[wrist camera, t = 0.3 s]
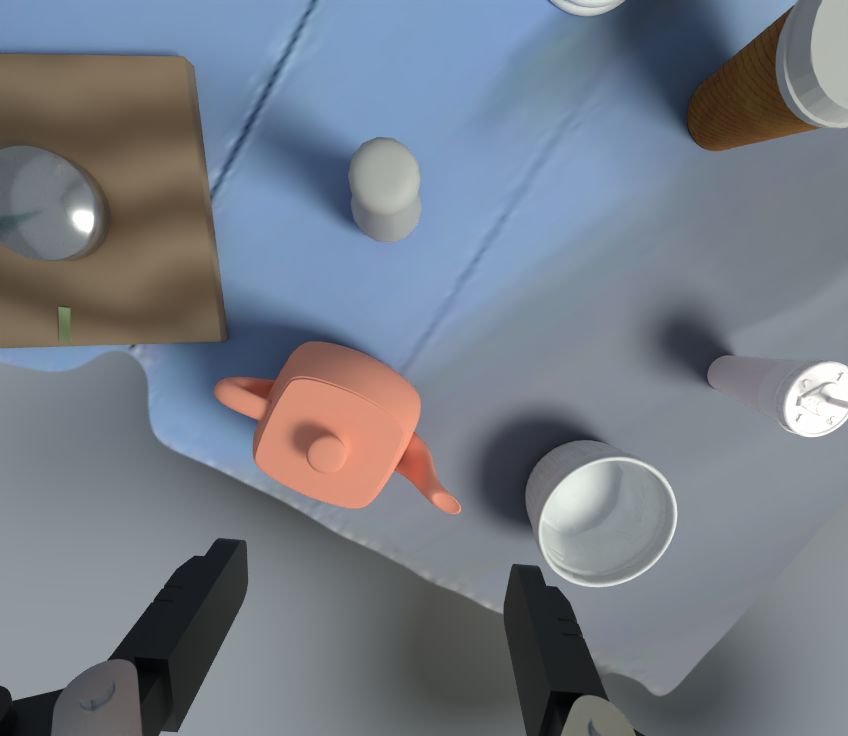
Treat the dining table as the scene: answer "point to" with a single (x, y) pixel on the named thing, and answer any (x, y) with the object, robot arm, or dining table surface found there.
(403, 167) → the salt shaker
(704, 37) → the dining table surface
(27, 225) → the teal flat rectangular slab
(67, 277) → the wooden cutting board
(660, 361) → the dining table surface
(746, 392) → the smoothie
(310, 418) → the teapot
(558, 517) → the ramekin
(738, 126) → the disposable coffee cup
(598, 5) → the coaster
